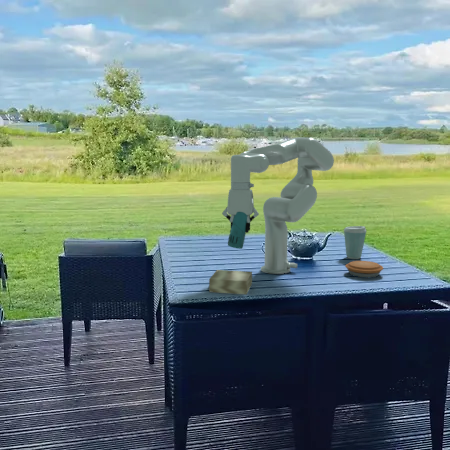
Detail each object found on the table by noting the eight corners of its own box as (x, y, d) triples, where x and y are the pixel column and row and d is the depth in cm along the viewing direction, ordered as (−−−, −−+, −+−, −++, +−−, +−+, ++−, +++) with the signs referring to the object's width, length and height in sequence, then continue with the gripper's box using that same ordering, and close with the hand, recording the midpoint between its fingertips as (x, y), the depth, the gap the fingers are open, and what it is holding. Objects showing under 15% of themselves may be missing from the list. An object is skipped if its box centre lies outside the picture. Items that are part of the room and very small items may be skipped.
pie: (387, 273, 236) (387, 261, 236) (376, 281, 223) (377, 269, 222) (351, 268, 244) (352, 257, 243) (339, 276, 231) (340, 264, 230)
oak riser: (251, 284, 218) (252, 271, 217) (246, 294, 204) (246, 281, 203) (216, 282, 220) (216, 269, 219) (209, 292, 207) (209, 279, 206)
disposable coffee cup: (341, 259, 260) (343, 227, 258) (342, 254, 271) (344, 224, 268) (365, 260, 258) (366, 229, 255) (365, 255, 268) (366, 225, 266)
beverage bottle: (241, 250, 226) (251, 202, 223) (243, 253, 219) (253, 204, 217) (225, 247, 225) (235, 199, 223) (226, 250, 219) (237, 200, 216)
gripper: (263, 185, 220) (262, 231, 223) (221, 185, 223) (221, 229, 227) (260, 187, 213) (260, 234, 216) (217, 187, 216) (217, 233, 219)
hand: (240, 231), depth 221 cm, fingers closed on beverage bottle, 4 cm apart
